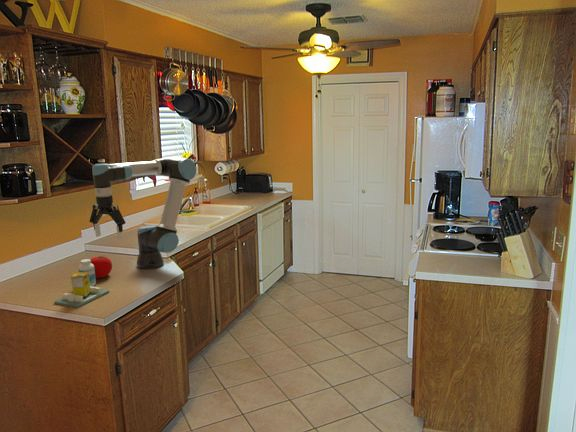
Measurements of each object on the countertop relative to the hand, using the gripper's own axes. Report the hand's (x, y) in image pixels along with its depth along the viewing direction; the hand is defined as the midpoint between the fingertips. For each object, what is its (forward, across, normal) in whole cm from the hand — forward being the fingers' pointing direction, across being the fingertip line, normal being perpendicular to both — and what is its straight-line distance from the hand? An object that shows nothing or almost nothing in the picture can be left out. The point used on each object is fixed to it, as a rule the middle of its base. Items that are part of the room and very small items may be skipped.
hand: (109, 237), depth 234 cm
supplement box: (+24, -3, -19) cm, 31 cm away
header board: (+25, -3, -19) cm, 32 cm away
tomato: (+26, -17, +8) cm, 32 cm away
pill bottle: (+26, -13, -5) cm, 29 cm away
